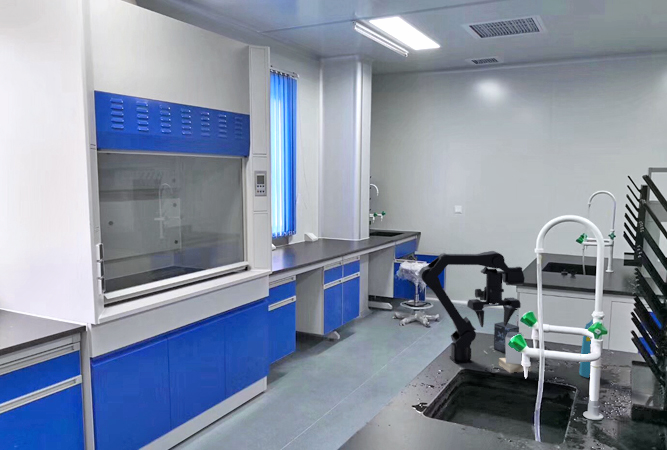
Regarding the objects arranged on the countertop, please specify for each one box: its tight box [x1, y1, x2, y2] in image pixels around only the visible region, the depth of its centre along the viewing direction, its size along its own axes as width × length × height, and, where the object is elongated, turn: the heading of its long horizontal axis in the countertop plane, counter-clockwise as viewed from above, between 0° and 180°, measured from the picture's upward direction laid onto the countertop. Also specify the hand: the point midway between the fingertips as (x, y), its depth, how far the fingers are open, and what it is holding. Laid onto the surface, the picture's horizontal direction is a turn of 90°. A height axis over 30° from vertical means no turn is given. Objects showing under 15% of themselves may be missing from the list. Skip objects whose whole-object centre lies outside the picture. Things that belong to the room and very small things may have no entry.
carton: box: [505, 332, 524, 365], centre depth 181 cm, size 6×6×10 cm
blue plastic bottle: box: [578, 318, 594, 379], centre depth 173 cm, size 7×5×19 cm, turn 144°
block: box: [498, 357, 532, 374], centre depth 182 cm, size 8×8×3 cm
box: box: [493, 321, 520, 354], centre depth 200 cm, size 8×6×11 cm
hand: (493, 326), depth 189 cm, fingers open, 9 cm apart
